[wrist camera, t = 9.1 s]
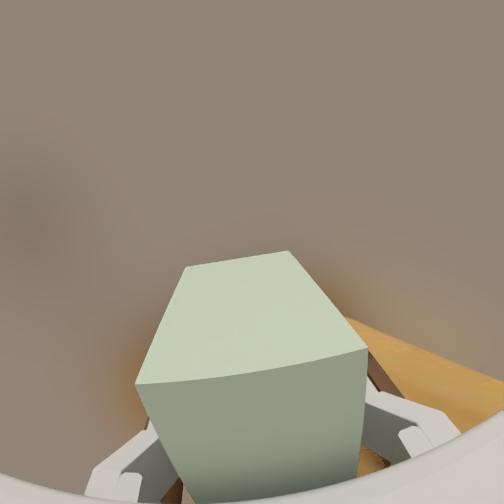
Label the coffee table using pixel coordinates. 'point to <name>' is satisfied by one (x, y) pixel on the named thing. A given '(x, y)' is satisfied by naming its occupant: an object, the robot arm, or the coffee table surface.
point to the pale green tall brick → (255, 382)
